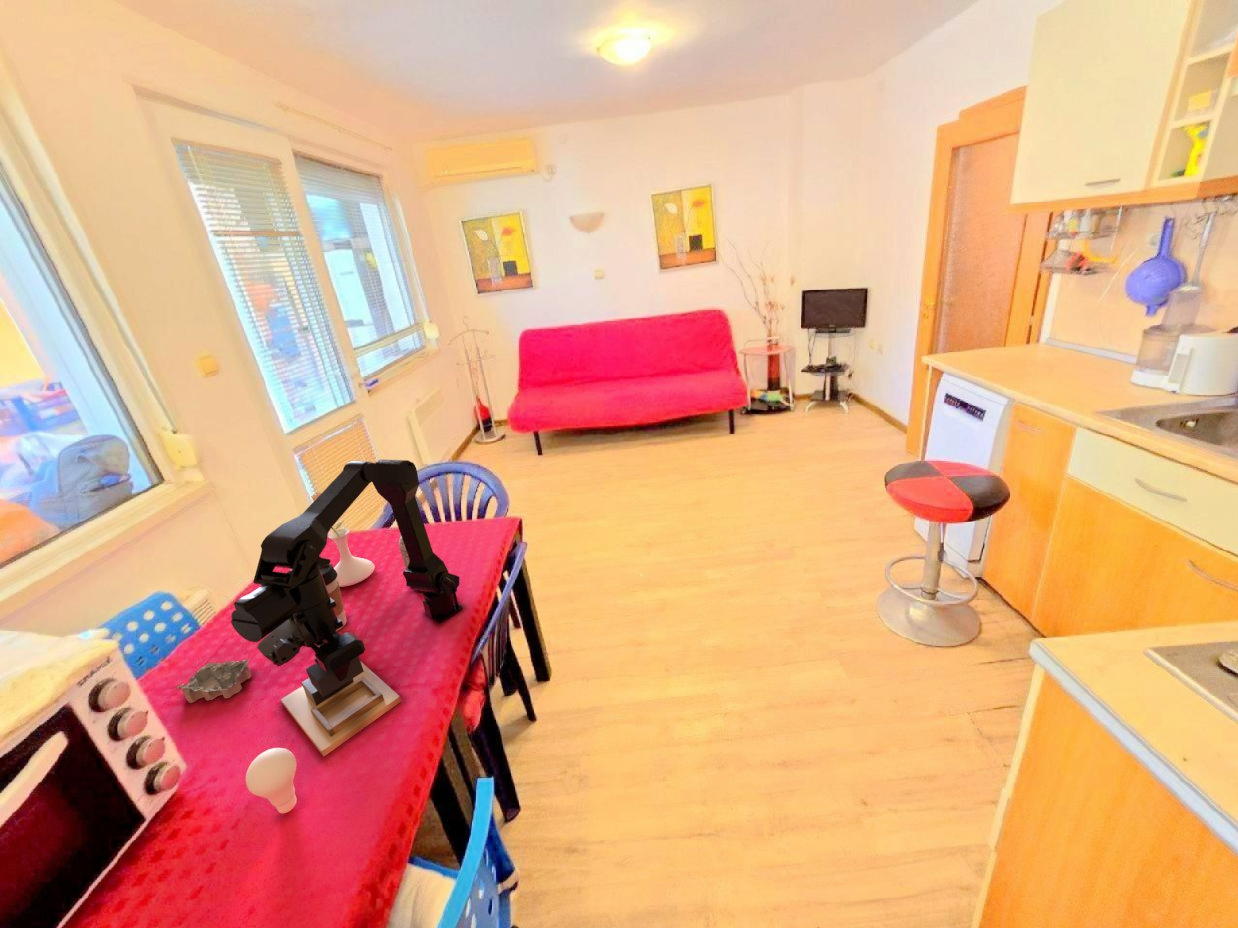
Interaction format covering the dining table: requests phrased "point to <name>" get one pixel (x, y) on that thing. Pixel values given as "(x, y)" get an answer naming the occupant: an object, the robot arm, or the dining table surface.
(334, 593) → the coffee cup
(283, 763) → the lightbulb
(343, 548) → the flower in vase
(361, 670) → the dark rectangular block
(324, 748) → the backing board
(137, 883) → the dining table surface
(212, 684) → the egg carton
